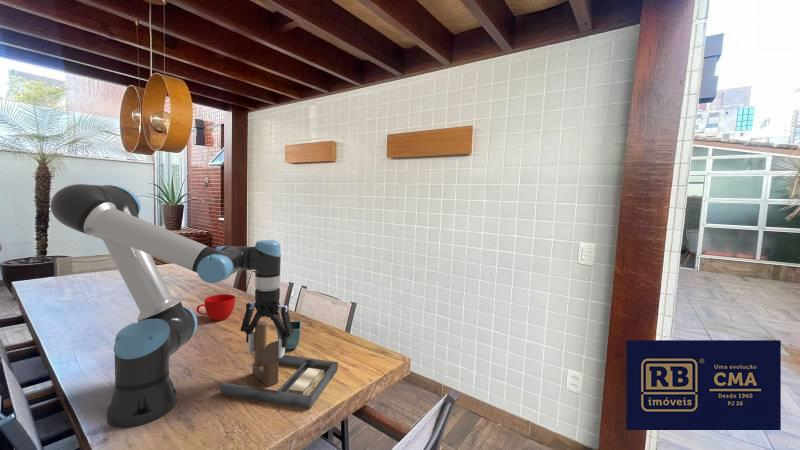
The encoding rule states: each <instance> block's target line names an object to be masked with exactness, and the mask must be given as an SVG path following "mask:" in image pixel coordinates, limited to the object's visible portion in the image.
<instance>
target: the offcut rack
mask: <svg viewBox="0 0 800 450" xmlns="http://www.w3.org/2000/svg"><path fill="white" fill-rule="evenodd" d="M278 362H279V363H278V365H286V366H291V367H298V369H296V371H295V372H294V373H293V374H292V375H291V376H290V377H289V378H288V379H287V380H286V381H285V382H284V383H283V384H282V385H281V386H280V388H279V389H277V390H275V389H274V390H273V389H269V388H263V387H262V388H261V387H255V386H248V385H243V384H242V385H241V384H236V383H235V384H234V383H229V382H221V384H219V385H220V387H219V390H220V391H219V394H220V395H224V396H230V397H237V398H243V399H249V400H255V401H262V402H266V403H267V402H268V403H274V404H278V405H279V404H280V405H286V406H289V407H290V406H292V407H297V408H303V409H310V410H311V409H312V408H313V406H314V404H315V403H316V402H317V400H318V398H319V397H320V396H321V395H322V393H323V392H324V390H325V389H326V388H327V386H328V384H329V383H330V382H331V380H332V379H333V377H334V376H335V374H336V373H337V372H338V368H339V367H338V365H339V362H338V361H333V360H324V359H319V358H310V357H304V356H303V357H302V356H295V355H290V354H289V355H287V354H285V355H284V356H283V357H281V358H279V361H278ZM308 368H313V369H320V370H324V371H326V372H325V373H324V374H323V375H322V377H321V378H320V379H319V381H318V382H317V383H316V384H315V386H314V387H313V388H312V390H311V391H310V392H309V393H310V394H309V395H308V394H307V395H300V394H294V393H289V388H290V387H291V386H292V385H293V384H294V383H295V382H296V381H297V380H298V378H299V377H300V376H301V375H302V374H303V373H304V372H305V371H306V370H307V369H308Z"/></svg>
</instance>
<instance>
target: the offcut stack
mask: <svg viewBox="0 0 800 450" xmlns="http://www.w3.org/2000/svg"><path fill="white" fill-rule="evenodd" d="M324 375H325V370H320V369H313V368H308V369H307V370H306V371H305V372H304V373H303V374H302V375H301V376H300V377H299V378H298V380H297V381H296V382H295V383H294V384H293V385H292V386H291V387H290V388H289V390H288V393H294V394H300V395H307V396H308V394H309V393H311V391H312V390H313V389H314V388H315V386H316V385H317V384H318V383H319V381H320V380H321V379H322V378H323V376H324Z"/></svg>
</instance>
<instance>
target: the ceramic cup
mask: <svg viewBox="0 0 800 450" xmlns="http://www.w3.org/2000/svg"><path fill="white" fill-rule="evenodd" d="M235 304H236V296H235V295H233V294H229V293H228V294H227V293H226V294H214V295H211V296H207V297H205V298H204V304H198V305H197V307H196V312H197V313H198V314H199V315H202V316H208V317H209V318H210V319H211V320H212V321H215V322H216V321H217V322H219V321H224V320H227V319H228V318H229V317H230V316H231V314H232V313H233V311H234V309H235V307H236V306H235ZM202 307H204V308H205V313H204V312H201V311H200V308H202Z"/></svg>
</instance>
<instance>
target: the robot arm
mask: <svg viewBox="0 0 800 450" xmlns="http://www.w3.org/2000/svg"><path fill="white" fill-rule="evenodd" d="M141 208H142V207H141V203H140V200H139V199H138V197H137V196H136V194H135V193H133V192H132V191H130V190H129V189H127V188H124V187H120V186H118V185H117V186H116V185H111V184H108V185H106V184H104V185H101V184H100V185H99V184H86V183H85V184H83V183H80V184H79V183H78V184H77V183H76V184H71V185H67V186H64V187H62V188H61V189H58V191H57V192H55V194H54V195H53V196H52V198H51V200H50V211H51V213H52V215H53V216H54V218H55V219H56V220H57V221H58V222H59V223H61V224H63V225H64V226H66V227H68V228H69V229H73V230H74V231H77V232H80V233H82V234H86V235H87V236H91V237H93V238H97V239H100V240H102V241H103V243H104V245H105V247H106V248H107V250H108V253H109V254H110V256H111V258H112V260H113V262H114V263H115V266H116V268H117V270H118V271H119V272H118V273H119V274H120V275H121V278H122V279H123V282H124V283H125V285H126V287H127V289H128V291H129V293H130V295H131V297H132V299H133V301H134V302H135V304H136V307H137V309H138V310H139V315H138V316H137V319H136V320H137V322H132V323H130V324H128V325H126V326H124V327H122V328H121V329H120V330H119V331H118V333H117V334H116V336H115V338H114V346H113V352H114V386H115V387H114V391H113V394H112V396H111V401H110V404H109V405H108V407H107V409H106V422H107V424H108V425H110V426H111V427H114V428H130V427H136V426H141V425H144V424H147V423H149V422H152V421H155V420H157V419H159V418H161V417H162V416H164V415H166V414H168V413H169V412H170V411H171V410H172V409H173V408H174V407H175V405H176V404H177V397H178V396H177V395H178V394H177V390H176V388H175V387H174V386H175V385H174V383H173V381H172V379H171V377H170V357H171V356H172V355H174V354H175V353H176V352H177V351H178V350H179V349H180V348H181V347H183V346H184V345H185V344H186V343H188V342H189V341H190V340H191V338H192V337H193V336H194V334H195V333H196V331H197V328H198V319H197V316H196V314H195V313H194V310H192V309H190V308H187V307H186V306H183V303H182V301H181V300H179V299H176V298H173V296H172V295H171V293H170V291H169V289H168V287H167V285H166V283H165V281H164V278H163V277H162V274H161V272H160V270H159V269H158V267H157V264H156V263H155V261H154V258H153V257H156V258H159V259H161V260H163V261H166V262H168V263H172V264H173V265H177V266H179V267H182V268H184V269H187V270H189V271H191V272H194V273H197V275H198V277H199V278H200V280H202V281H203V282H205V283H208V284H217V283H220V282H223V281H225V280H226V279H228V278H230V277H231V276H232V275H233V274H235V273H236V272H238V271H254V272H255V274H254V276H255V277H254V280H255V281H254V289H255V290H254V301H249V302H248V303H246V304H245V313H244V315H243V316H244V317H243V319H242V323H241V326H240V332H242V333H245V334H246V335H245V336H246V337H245V341H246V343H247V348H248V349H247V354H248V355H251V354H252V353H255V325H256V324H257V323H258V322H259V321H261V320H260V319H262V317H264V318H265V317H266V318H270V320H271V321H272V322H273V323H274V325H275V327H276V331H277V330H278V332H279V334H280V336H281V337H280V338H279V355H278V358H281V357H283V356H284V355H286V350H285V347H286V346H287V338H288V337H290V336H291V335H292V334H293V329H292V325H291V322H292V320H291V317H290V314H289V309H290V307H289V305H288V304H285V305H282V304H281V303H280V298H281V288H280V287H281V257H282V254H281V243H280V242H279V241H277V240H274V239H273V240H271V239H267V240H266V239H264V240H263V239H260V240H257V241H256V242H255V245H254V246H241V245H240V246H234V245H223V246H222V245H221V246H217V247H215V248H213V247H210V246H208V245H205V244H203V243H200V242H198V241H195V240H194V239H190V238H188V237H186V236H184V235H181V234H179V233H176V232H174V231H172V230H169V229H167V228H163V227H162V226H158V225H157V224H154V223H152V222H149V221H147V220H144V219H142V218H140V217H139V215H140V211H141ZM152 256H153V257H152ZM254 310H256V312H255V314H254V316H253V313H254ZM252 317H253V319H252ZM251 319H252V320H251Z"/></svg>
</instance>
